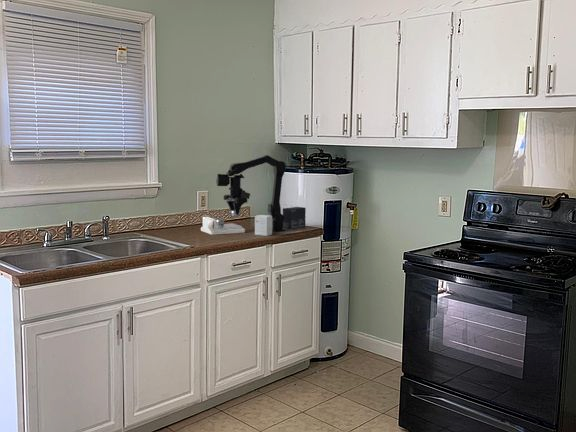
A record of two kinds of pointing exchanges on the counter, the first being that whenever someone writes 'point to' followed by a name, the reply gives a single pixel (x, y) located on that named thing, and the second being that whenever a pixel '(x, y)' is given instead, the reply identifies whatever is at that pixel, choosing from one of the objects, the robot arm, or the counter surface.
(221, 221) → the spacer on pan
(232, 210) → the steel cup
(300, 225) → the small box
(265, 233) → the small box
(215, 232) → the scale
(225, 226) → the pan
